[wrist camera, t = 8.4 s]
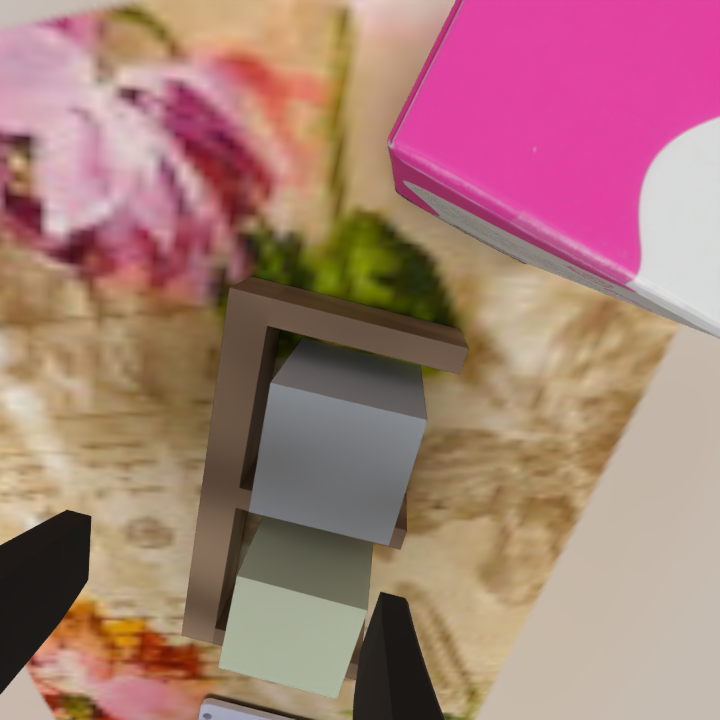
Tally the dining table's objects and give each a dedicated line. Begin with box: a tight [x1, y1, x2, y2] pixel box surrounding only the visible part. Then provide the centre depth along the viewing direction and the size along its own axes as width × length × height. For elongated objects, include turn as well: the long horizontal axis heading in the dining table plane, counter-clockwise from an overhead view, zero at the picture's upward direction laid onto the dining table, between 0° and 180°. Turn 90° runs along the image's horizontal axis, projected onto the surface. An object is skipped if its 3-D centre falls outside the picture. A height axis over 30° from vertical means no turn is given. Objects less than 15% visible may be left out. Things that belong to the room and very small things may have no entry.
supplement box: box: [388, 0, 720, 338], centre depth 10 cm, size 6×6×12 cm
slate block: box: [249, 338, 427, 546], centre depth 17 cm, size 5×5×5 cm
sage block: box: [218, 516, 373, 699], centre depth 20 cm, size 5×5×5 cm
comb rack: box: [181, 277, 469, 680], centre depth 20 cm, size 17×8×2 cm, turn 167°
